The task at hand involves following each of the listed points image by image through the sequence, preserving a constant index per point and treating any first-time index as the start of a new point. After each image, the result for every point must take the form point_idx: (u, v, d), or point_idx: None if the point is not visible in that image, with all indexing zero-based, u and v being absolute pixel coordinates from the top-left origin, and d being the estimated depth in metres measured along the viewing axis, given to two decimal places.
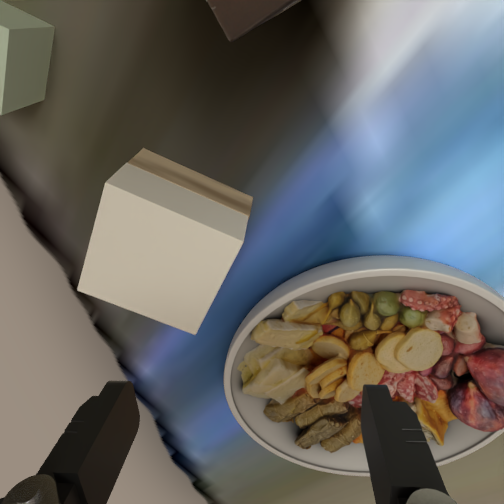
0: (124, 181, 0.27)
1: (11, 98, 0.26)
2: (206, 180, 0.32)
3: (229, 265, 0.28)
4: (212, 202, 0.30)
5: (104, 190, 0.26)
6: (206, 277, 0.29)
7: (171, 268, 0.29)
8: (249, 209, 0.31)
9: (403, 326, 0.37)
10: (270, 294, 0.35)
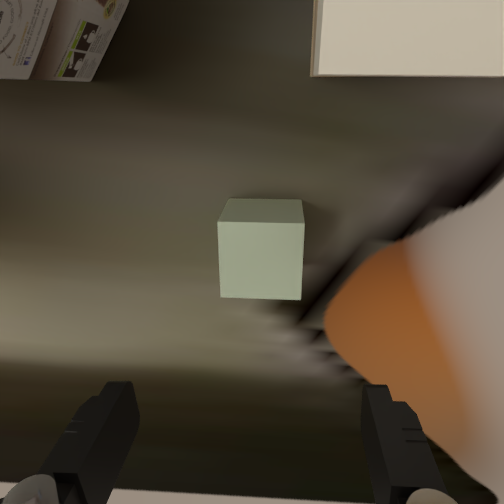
0: (318, 55, 0.19)
1: (288, 218, 0.25)
2: None
3: None
4: None
5: (331, 72, 0.19)
6: None
7: None
8: None
9: None
10: None
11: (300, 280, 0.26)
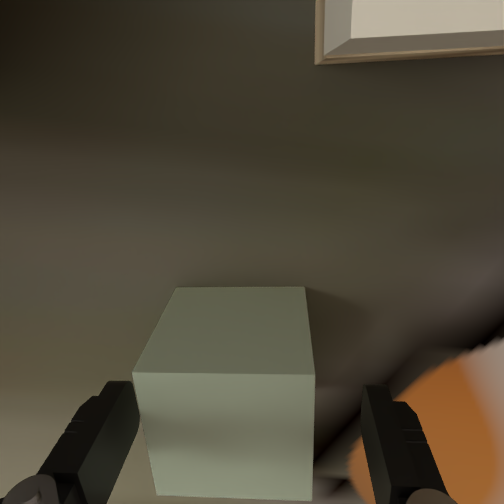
0: None
1: (281, 353, 0.12)
2: None
3: None
4: None
5: (390, 30, 0.06)
6: None
7: None
8: None
9: None
10: None
11: (310, 470, 0.13)
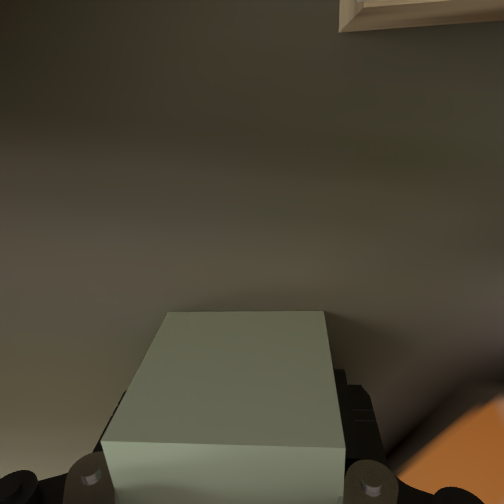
0: None
1: (298, 412, 0.09)
2: None
3: None
4: None
5: None
6: None
7: None
8: None
9: None
10: None
11: None
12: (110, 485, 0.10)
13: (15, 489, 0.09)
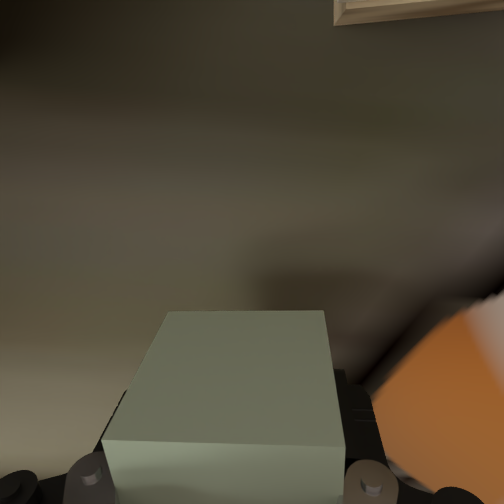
0: None
1: (298, 411, 0.09)
2: None
3: None
4: None
5: None
6: None
7: None
8: None
9: None
10: None
11: None
12: (110, 485, 0.10)
13: (15, 489, 0.09)
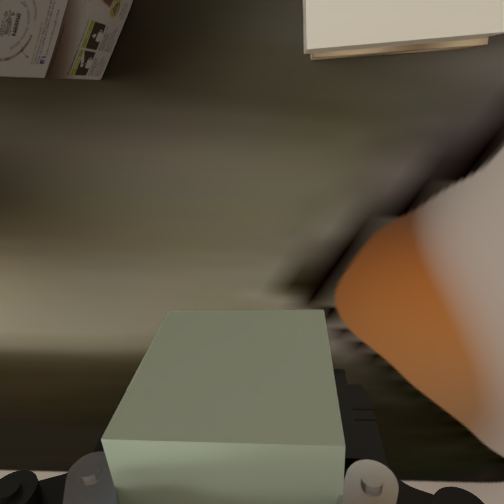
0: (305, 32, 0.21)
1: (298, 410, 0.09)
2: None
3: None
4: None
5: (318, 46, 0.20)
6: None
7: None
8: None
9: None
10: None
11: None
12: (110, 485, 0.10)
13: (15, 489, 0.09)
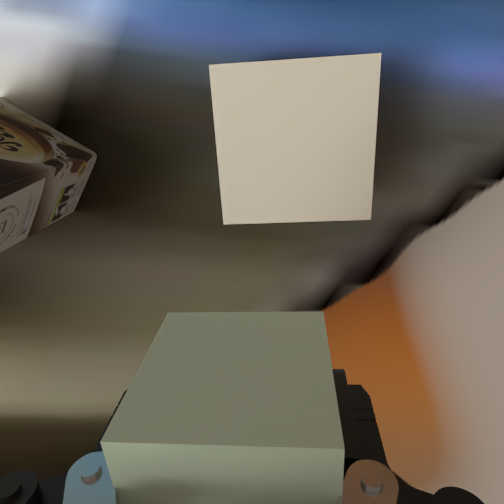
0: None
1: (297, 413, 0.09)
2: None
3: (247, 64, 0.23)
4: None
5: (231, 223, 0.27)
6: (277, 83, 0.23)
7: (287, 129, 0.24)
8: None
9: None
10: None
11: None
12: (110, 485, 0.10)
13: (15, 489, 0.09)
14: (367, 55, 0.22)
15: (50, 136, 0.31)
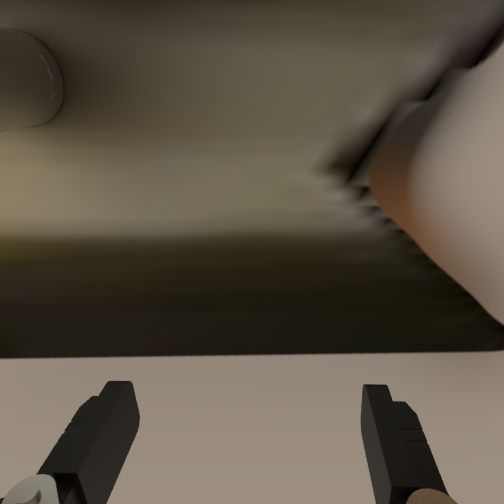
0: None
1: None
2: None
3: None
4: None
5: None
6: None
7: None
8: None
9: None
10: None
11: None
12: None
13: None
14: None
15: None
